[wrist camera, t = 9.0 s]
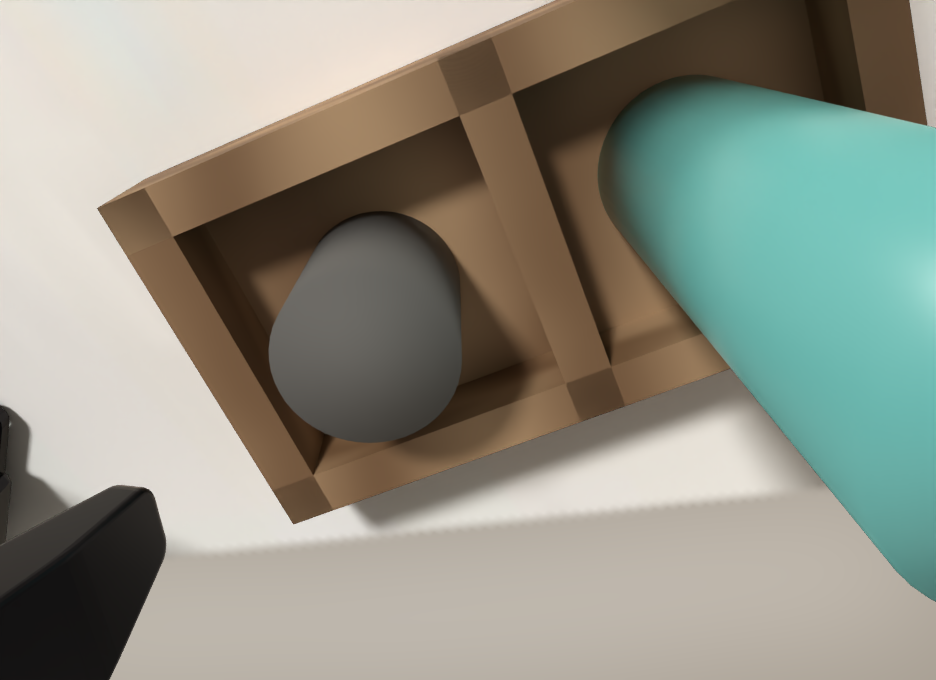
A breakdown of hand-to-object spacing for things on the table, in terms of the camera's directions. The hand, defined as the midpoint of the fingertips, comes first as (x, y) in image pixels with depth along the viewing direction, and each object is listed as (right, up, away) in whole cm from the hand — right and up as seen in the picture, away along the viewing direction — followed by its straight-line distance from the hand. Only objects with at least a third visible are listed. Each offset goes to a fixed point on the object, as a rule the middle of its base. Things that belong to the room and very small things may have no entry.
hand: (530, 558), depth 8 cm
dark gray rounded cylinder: (-3, +4, +12) cm, 13 cm away
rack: (+1, +6, +12) cm, 13 cm away
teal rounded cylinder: (+5, +7, +10) cm, 13 cm away
